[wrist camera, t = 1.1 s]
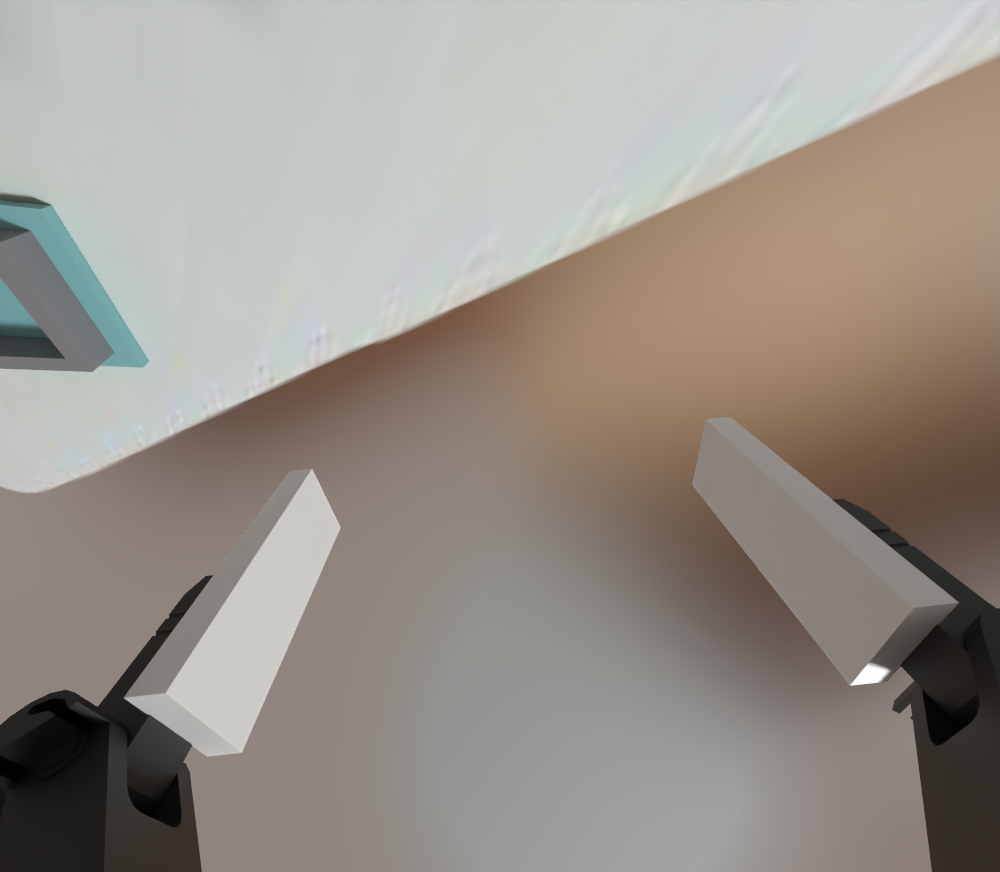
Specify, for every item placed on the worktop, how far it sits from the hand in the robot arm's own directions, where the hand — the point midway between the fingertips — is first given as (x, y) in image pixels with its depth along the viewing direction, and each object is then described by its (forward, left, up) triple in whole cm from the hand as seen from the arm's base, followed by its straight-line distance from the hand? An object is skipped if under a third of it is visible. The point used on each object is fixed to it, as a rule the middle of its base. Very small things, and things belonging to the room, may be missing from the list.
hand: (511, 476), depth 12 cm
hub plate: (+7, -36, -26) cm, 45 cm away
